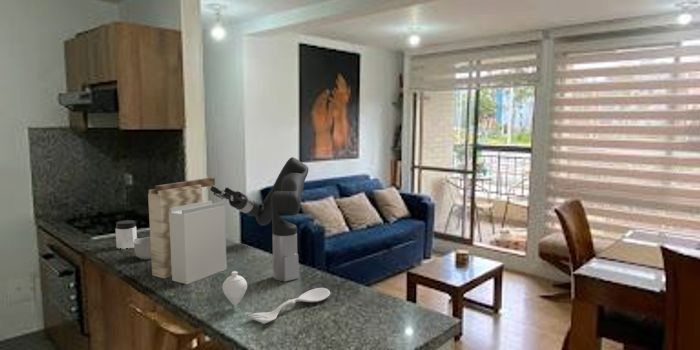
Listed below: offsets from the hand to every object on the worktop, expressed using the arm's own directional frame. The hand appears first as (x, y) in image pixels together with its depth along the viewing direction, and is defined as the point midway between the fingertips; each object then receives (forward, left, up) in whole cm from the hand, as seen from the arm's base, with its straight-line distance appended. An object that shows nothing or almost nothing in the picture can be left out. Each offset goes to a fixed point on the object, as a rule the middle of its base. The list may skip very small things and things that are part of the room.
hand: (218, 188), depth 202 cm
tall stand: (-8, +21, -30) cm, 37 cm away
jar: (+42, +28, -30) cm, 59 cm away
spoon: (-70, +7, -31) cm, 76 cm away
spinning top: (-58, +21, -30) cm, 68 cm away
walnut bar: (-5, +16, +2) cm, 17 cm away
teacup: (+19, +26, -30) cm, 44 cm away
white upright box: (-19, +17, -30) cm, 39 cm away
